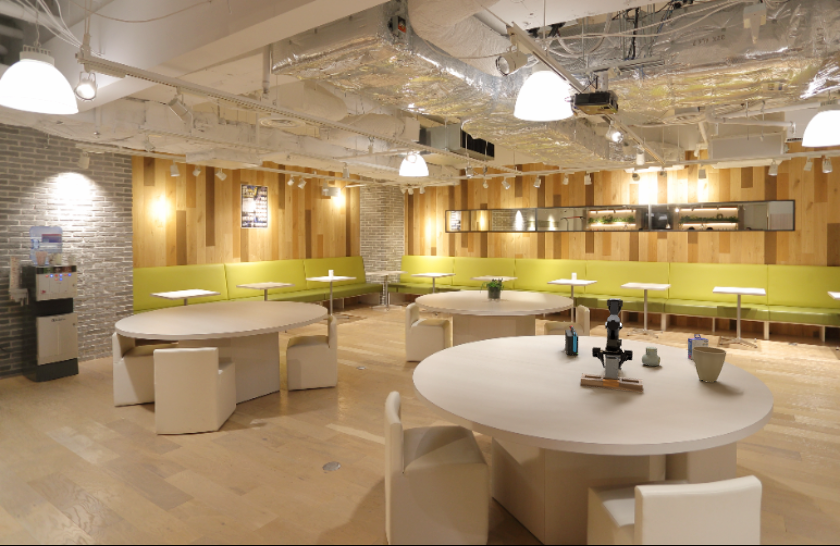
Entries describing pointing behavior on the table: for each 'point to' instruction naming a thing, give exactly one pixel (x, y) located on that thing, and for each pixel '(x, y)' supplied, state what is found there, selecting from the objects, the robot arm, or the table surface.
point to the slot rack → (612, 383)
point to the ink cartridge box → (696, 344)
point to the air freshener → (651, 357)
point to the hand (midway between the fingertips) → (611, 368)
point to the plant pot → (708, 362)
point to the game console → (571, 341)
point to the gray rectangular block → (611, 368)
